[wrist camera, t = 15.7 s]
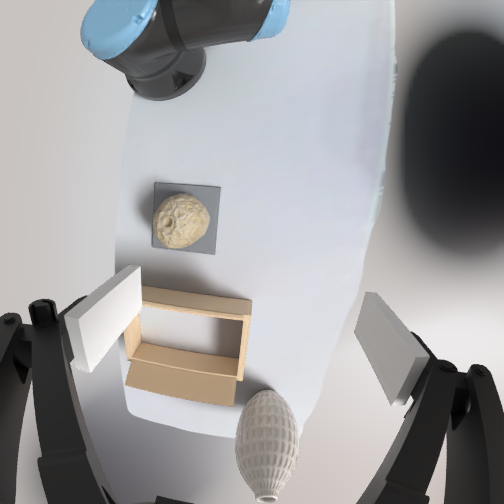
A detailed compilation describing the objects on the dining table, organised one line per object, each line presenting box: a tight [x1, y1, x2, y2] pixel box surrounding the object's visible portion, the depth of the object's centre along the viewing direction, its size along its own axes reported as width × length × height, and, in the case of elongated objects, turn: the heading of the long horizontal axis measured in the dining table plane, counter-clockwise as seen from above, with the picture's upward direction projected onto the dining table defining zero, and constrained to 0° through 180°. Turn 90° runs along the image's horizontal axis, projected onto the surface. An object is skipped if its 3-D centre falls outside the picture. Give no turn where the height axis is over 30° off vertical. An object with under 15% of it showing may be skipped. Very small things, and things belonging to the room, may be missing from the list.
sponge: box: [153, 193, 210, 249], centre depth 46 cm, size 9×10×10 cm
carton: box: [123, 285, 252, 407], centre depth 50 cm, size 20×24×11 cm
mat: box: [153, 183, 221, 255], centre depth 49 cm, size 12×12×1 cm
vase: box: [235, 390, 299, 503], centre depth 47 cm, size 13×13×28 cm
